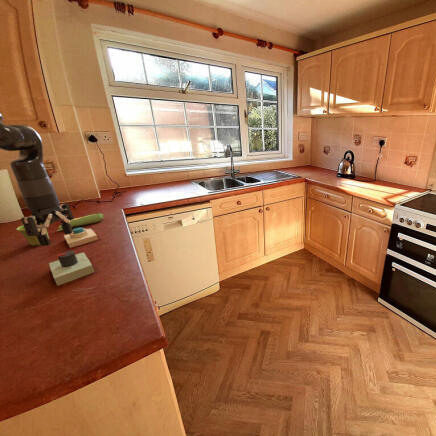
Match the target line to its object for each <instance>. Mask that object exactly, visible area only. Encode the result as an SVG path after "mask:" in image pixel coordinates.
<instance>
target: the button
mask: <svg viewBox="0 0 436 436" xmlns="http://www.w3.org/2000/svg"><path fill="white" fill-rule="evenodd" d="M83 229H84V227H82V226H79V227H74V228H73V229H72V232H73V233H74V234H78V233H81V232H84V230H83Z"/></svg>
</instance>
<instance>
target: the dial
mask: <svg viewBox="0 0 436 436" xmlns="http://www.w3.org/2000/svg"><path fill="white" fill-rule="evenodd" d="M56 256H57V258H58V259H57V260H59V261H60V264H61V266H62V267H70V266H73V265H75V264H76V263H78V260H77V258H76V253H75V251H74V250H68V251H64V252H61V253H59V254H57V255H56Z"/></svg>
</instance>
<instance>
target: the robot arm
mask: <svg viewBox="0 0 436 436" xmlns="http://www.w3.org/2000/svg"><path fill="white" fill-rule="evenodd" d="M3 122H4V116H3V114H2V113H1V112H0V150H3V151H6V152H16V151H17V152H18V157H17V158H15V159H13V160H11V161H10V162H9V166H10V169H11V172H12V174H13V176H14V178H15V181H16V184H17V188H18V190H19V193H20V195H21V197H22V200H23V201H24V203H25V206H26V209H27V210H29V211H30V212H31V215H29V216H23V217H21V223H22V225H24V228H25V230H26V233H27V235H28V236H37V238H38V241H39V243H40V244H41V245H40V246H43V247H45V246H47V247H48V246H50V245H51V242H50V238H49V239H48V237H49V236H48V237H47V234H45V233H46V229H47V230H48V229H49V226H50V225H52V224H53V223H55V222H58V223H60V225H61V226H62V228H63V230H62V231H63V233H64V235H68V234H71V233H72V232H73V229H72V228H71V225H70V221H71V220H73V219H75V217H74V215H73V212H72V210H71V207H70V205H69V204H68V203H60V200H59V197H58V196H57V192H56V190H55V187H54V184H53V182H52V181H51V179H50V177H49V175H48V172H47V169H46V166H45V164H44V147H43V146H44V145H43V140H42V137H41V136H40V133H39V132H38V131H37V130H35V128H33V127H32V126H30V125H27V124H22V123H21V124H16V123H15V124H4V123H3ZM40 223H41V224H43V225H40ZM62 228H61V229H62ZM31 229H32V230H31ZM40 229H41V231H40Z"/></svg>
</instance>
